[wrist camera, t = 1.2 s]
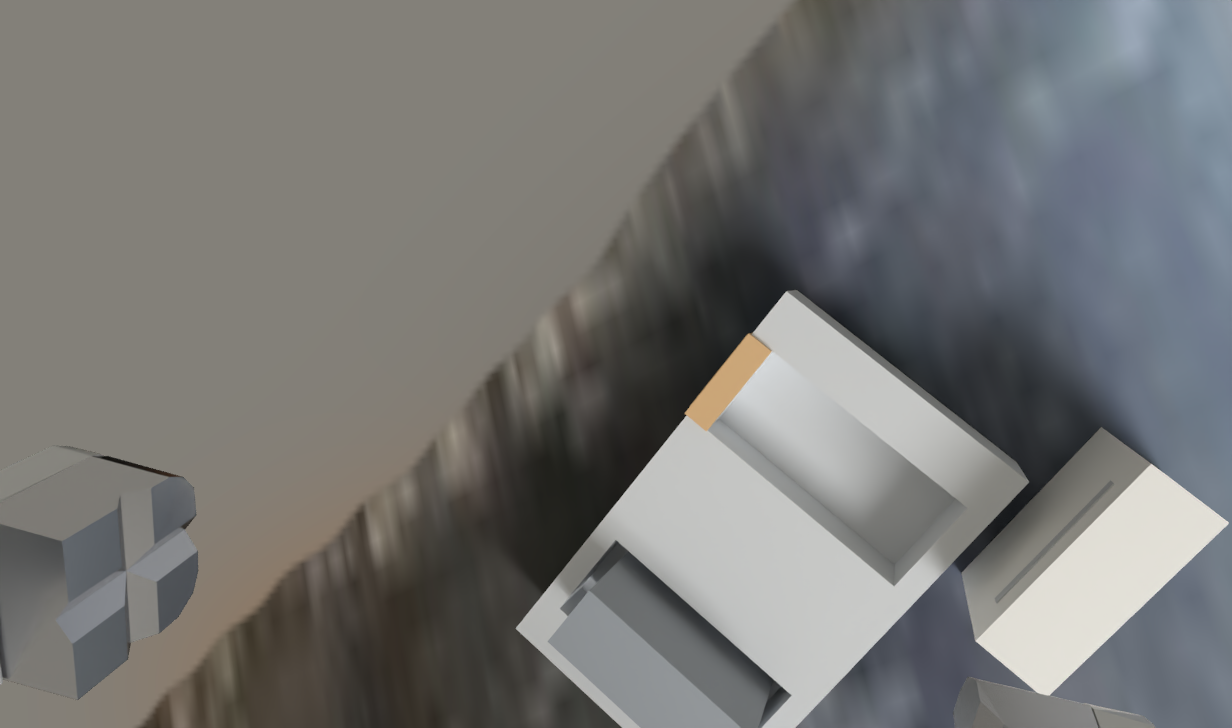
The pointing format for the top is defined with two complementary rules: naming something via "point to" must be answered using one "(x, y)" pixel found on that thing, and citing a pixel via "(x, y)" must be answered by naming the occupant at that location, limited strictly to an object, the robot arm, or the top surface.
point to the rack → (771, 535)
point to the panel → (1082, 560)
